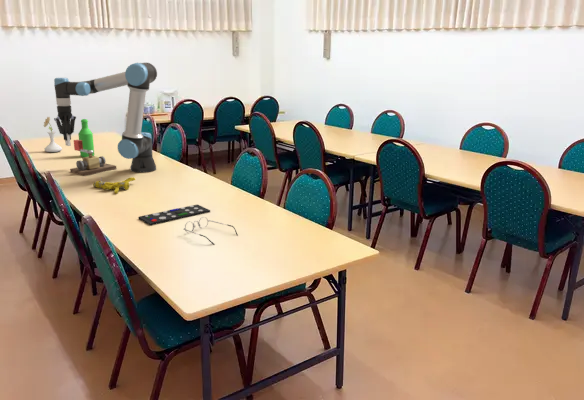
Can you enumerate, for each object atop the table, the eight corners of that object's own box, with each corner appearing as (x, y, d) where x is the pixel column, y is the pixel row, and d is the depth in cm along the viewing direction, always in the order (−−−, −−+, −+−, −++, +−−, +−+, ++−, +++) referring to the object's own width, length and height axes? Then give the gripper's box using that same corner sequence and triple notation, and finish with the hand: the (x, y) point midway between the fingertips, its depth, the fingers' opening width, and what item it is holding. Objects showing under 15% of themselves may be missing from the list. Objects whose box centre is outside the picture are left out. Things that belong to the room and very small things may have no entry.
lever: (94, 153, 298) (93, 142, 296) (89, 154, 295) (88, 143, 293) (79, 149, 306) (78, 139, 304) (74, 150, 303) (72, 140, 301)
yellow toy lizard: (84, 192, 260) (120, 193, 256) (83, 180, 258) (119, 181, 255) (106, 185, 281) (140, 186, 278) (105, 173, 280) (139, 174, 277)
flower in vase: (45, 150, 355) (41, 114, 348) (63, 149, 358) (59, 114, 351) (43, 154, 343) (38, 117, 336) (61, 153, 347) (57, 117, 339)
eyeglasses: (209, 225, 218) (208, 214, 217) (240, 235, 207) (240, 224, 206) (180, 235, 206) (179, 223, 205) (211, 246, 195) (211, 234, 194)
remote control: (138, 219, 223) (138, 215, 222) (197, 207, 242) (197, 203, 242) (150, 226, 215) (150, 222, 214) (210, 213, 234) (210, 209, 234)
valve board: (116, 169, 308) (115, 151, 305) (84, 175, 291) (83, 157, 287) (101, 165, 316) (100, 148, 312) (70, 172, 298) (68, 154, 295)
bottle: (91, 157, 336) (87, 120, 328) (78, 157, 336) (74, 120, 329) (96, 155, 344) (93, 118, 337) (84, 154, 344) (80, 118, 337)
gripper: (70, 103, 297) (74, 143, 304) (49, 105, 287) (54, 146, 294) (77, 104, 293) (81, 144, 300) (57, 106, 283) (61, 147, 290)
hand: (68, 145), depth 297 cm, fingers closed
